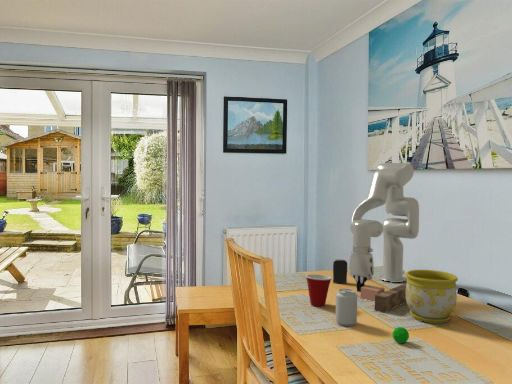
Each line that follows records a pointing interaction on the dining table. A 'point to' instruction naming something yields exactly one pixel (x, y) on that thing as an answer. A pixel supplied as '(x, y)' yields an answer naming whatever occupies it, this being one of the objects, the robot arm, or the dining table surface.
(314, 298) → the plastic cup
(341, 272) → the battery charger
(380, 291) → the terracotta block
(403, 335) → the green ball
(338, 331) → the dining table surface
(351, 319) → the can
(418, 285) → the flowerpot
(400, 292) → the brown blocky bar
